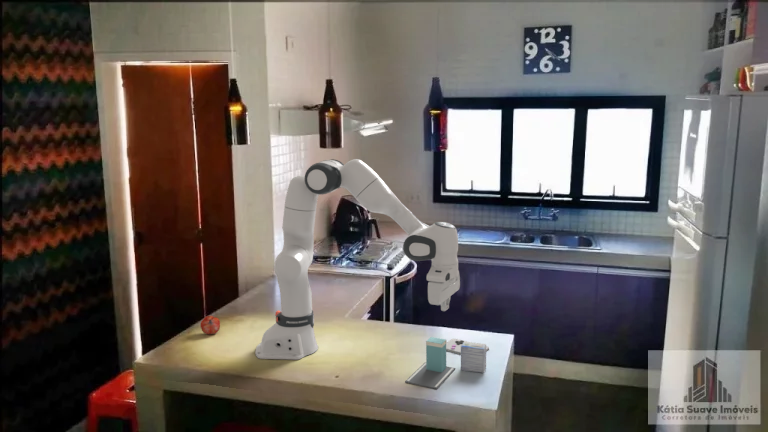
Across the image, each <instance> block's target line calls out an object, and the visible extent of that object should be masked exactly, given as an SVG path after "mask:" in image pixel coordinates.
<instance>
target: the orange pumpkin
mask: <svg viewBox="0 0 768 432" xmlns="http://www.w3.org/2000/svg"><path fill="white" fill-rule="evenodd" d="M220 328H221V321H220V319H219V318H218V317H215V316H213V315H207V316H204V318H203V319H202V320H201V321H200V329H201V331H202V333H204V334H205V335H214V334H217V333H218V332H219V331H220Z"/></svg>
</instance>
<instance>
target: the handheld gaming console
mask: <svg viewBox="0 0 768 432" xmlns="http://www.w3.org/2000/svg"><path fill="white" fill-rule="evenodd" d="M463 342H468V341H467V340H462V339H458V338H452V339H450V340H448V341H446V352H451V353H453V354H458V355H461V345H462V344H463ZM489 350H490V348H489V346H487V345H486V352H487V351H489Z"/></svg>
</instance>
